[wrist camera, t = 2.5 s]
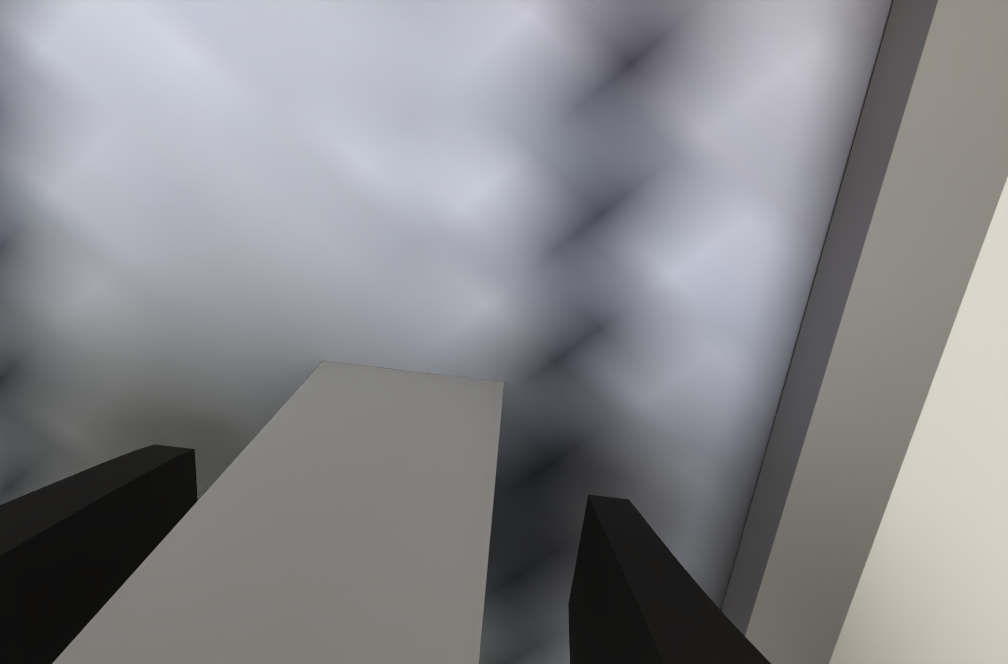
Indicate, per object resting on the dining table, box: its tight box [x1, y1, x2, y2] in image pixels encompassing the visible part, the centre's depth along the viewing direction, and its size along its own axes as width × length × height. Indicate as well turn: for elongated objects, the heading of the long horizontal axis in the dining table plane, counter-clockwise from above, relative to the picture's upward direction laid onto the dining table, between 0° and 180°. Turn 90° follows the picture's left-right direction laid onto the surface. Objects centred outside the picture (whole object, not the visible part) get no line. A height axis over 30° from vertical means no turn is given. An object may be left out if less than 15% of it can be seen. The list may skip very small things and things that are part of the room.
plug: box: [52, 361, 504, 664], centre depth 8 cm, size 4×3×6 cm
